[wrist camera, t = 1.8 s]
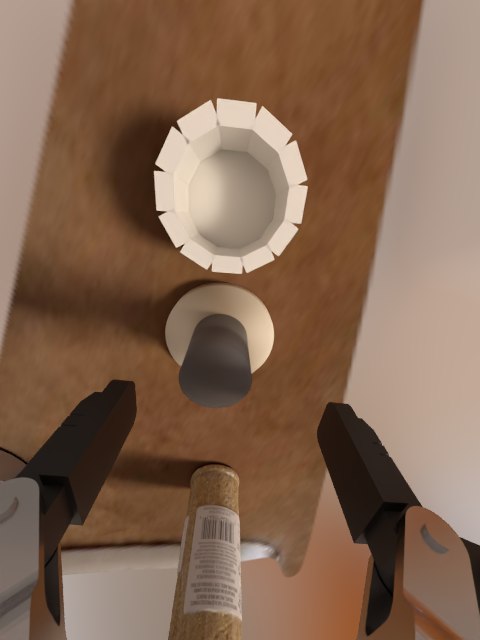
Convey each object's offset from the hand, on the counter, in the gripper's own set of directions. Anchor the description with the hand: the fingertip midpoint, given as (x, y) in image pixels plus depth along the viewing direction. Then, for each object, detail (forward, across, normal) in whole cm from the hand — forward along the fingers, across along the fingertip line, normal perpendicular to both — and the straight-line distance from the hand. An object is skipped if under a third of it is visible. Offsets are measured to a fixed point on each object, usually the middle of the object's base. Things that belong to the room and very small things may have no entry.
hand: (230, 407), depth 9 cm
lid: (+6, +1, 0) cm, 6 cm away
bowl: (+6, +1, -8) cm, 10 cm away
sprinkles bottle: (+6, 0, +15) cm, 17 cm away
